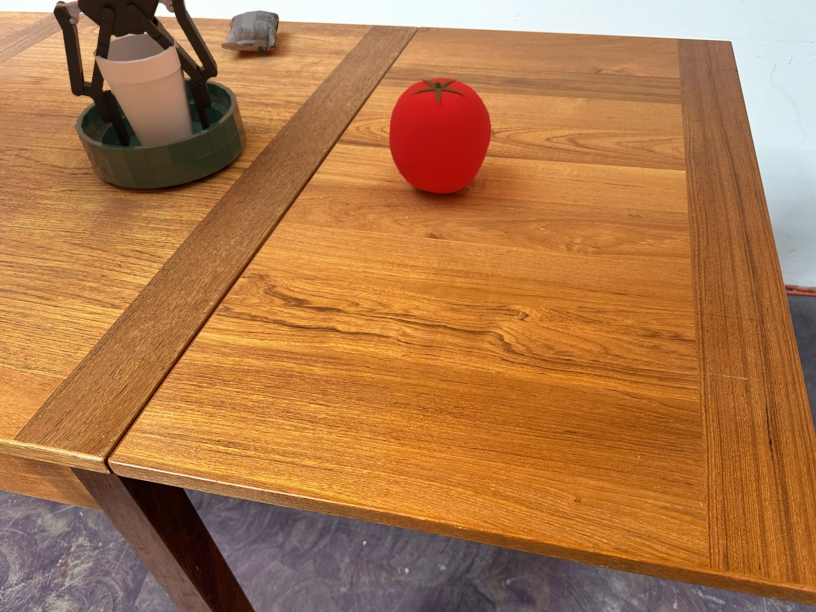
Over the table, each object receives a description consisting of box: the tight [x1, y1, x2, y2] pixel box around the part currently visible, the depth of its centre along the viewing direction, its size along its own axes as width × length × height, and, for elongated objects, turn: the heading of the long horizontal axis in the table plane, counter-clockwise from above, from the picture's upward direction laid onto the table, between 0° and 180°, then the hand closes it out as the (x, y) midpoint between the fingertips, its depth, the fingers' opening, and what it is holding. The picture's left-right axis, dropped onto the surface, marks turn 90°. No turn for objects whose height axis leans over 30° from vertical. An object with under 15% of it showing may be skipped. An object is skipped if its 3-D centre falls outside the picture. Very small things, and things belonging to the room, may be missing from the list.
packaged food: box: [220, 9, 280, 52], centre depth 112 cm, size 9×12×5 cm
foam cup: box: [92, 32, 194, 146], centre depth 82 cm, size 10×9×13 cm
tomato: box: [388, 77, 492, 194], centre depth 76 cm, size 12×12×13 cm
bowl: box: [74, 77, 247, 189], centre depth 85 cm, size 19×19×6 cm
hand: (167, 137), depth 86 cm, fingers closed on foam cup, 9 cm apart
